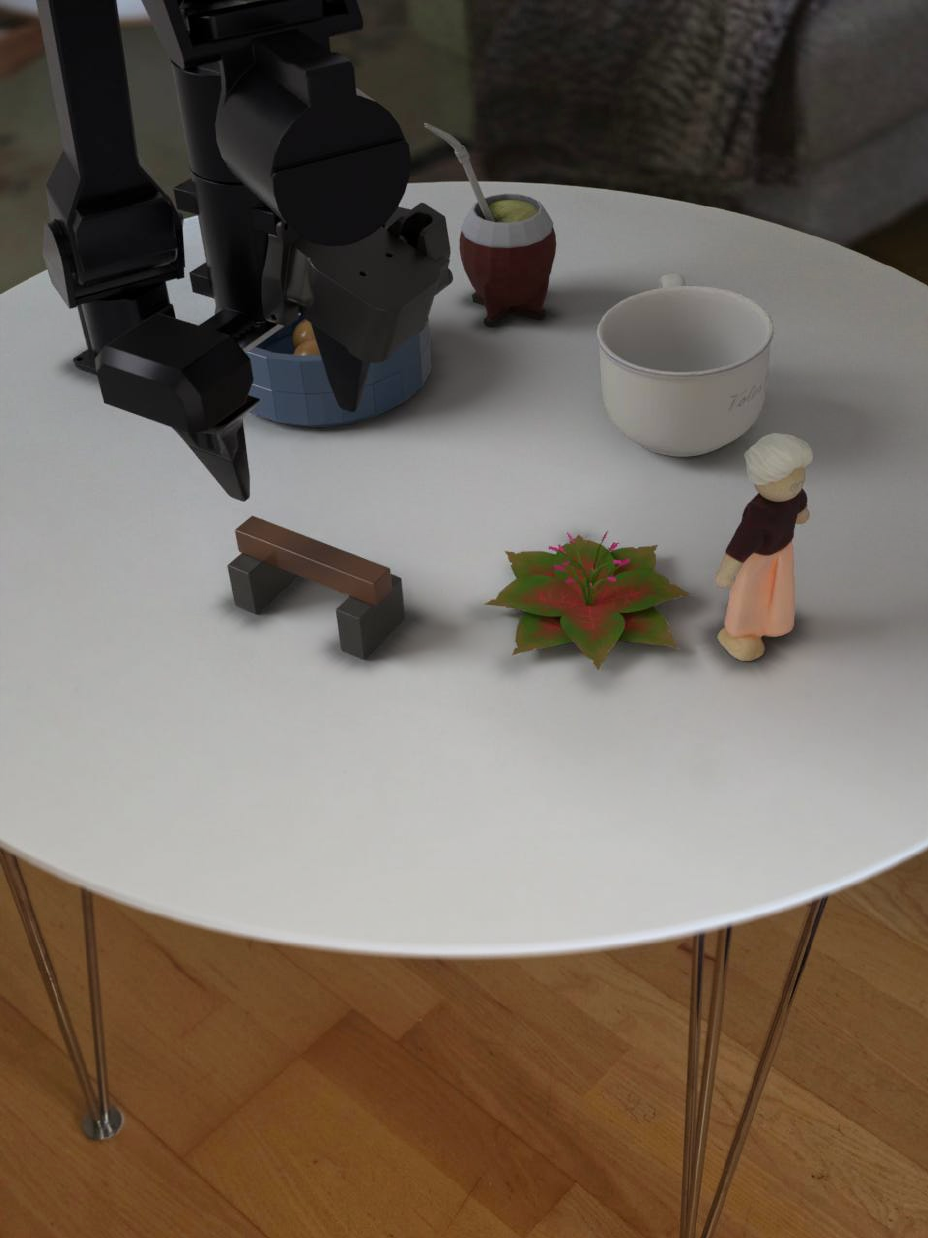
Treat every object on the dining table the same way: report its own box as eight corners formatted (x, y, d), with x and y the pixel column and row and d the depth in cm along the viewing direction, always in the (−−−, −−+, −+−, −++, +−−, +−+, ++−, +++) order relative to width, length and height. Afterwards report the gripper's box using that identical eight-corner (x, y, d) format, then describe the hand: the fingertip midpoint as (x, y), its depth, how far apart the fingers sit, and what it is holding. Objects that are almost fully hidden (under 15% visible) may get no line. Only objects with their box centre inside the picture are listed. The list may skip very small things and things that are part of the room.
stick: (238, 552, 77) (233, 529, 76) (256, 536, 78) (252, 514, 77) (376, 607, 73) (373, 584, 72) (393, 590, 74) (390, 567, 73)
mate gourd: (571, 299, 104) (574, 102, 94) (519, 345, 99) (516, 142, 89) (488, 277, 107) (482, 84, 98) (433, 321, 103) (421, 123, 93)
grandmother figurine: (763, 683, 72) (791, 487, 64) (696, 658, 74) (715, 464, 65) (816, 600, 77) (849, 408, 69) (752, 579, 79) (777, 389, 70)
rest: (234, 605, 79) (226, 565, 77) (277, 567, 81) (271, 527, 79) (364, 660, 75) (359, 619, 73) (405, 618, 77) (401, 577, 75)
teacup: (756, 485, 85) (770, 373, 80) (584, 470, 87) (586, 360, 82) (765, 369, 96) (778, 264, 90) (610, 359, 97) (614, 255, 92)
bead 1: (320, 375, 97) (326, 353, 100) (339, 343, 95) (344, 321, 98) (282, 355, 96) (289, 334, 99) (300, 323, 95) (306, 302, 97)
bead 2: (290, 337, 95) (317, 325, 93) (321, 361, 97) (349, 350, 95) (278, 372, 94) (306, 361, 92) (309, 396, 96) (338, 385, 94)
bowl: (183, 397, 96) (169, 326, 92) (310, 307, 105) (301, 240, 101) (351, 454, 90) (343, 382, 86) (470, 354, 99) (467, 284, 95)
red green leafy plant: (679, 537, 82) (684, 474, 79) (710, 675, 73) (717, 609, 70) (478, 545, 82) (476, 483, 79) (485, 684, 73) (482, 619, 70)
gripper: (262, 287, 51) (310, 604, 61) (518, 116, 63) (523, 407, 73) (50, 226, 56) (128, 530, 66) (324, 78, 67) (354, 356, 78)
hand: (296, 452), depth 71 cm, fingers open, 9 cm apart
